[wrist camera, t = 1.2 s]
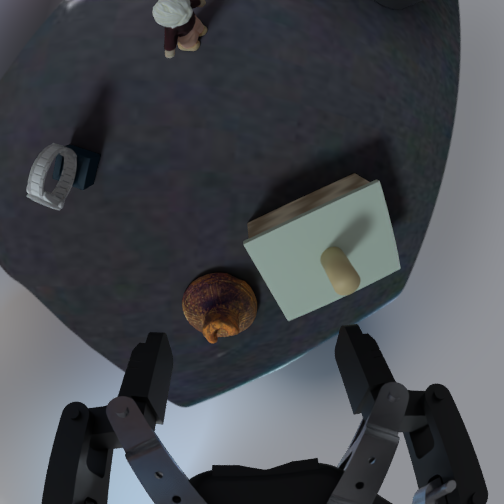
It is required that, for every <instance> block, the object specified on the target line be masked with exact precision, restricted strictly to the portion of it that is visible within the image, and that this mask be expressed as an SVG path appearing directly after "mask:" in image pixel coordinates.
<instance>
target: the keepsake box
mask: <svg viewBox="0 0 504 504" xmlns="http://www.w3.org/2000/svg"><path fill="white" fill-rule="evenodd" d="M367 183H370V182H369V181H367V180H365V179H364V178H362V177H360V176H359V175H357V174H355V173H354V174H352V175H350V176H347V177H345V178H343V179H341V180H338V181H336V182H334V183H332V184H330V185H327V186H325V187H323V188H321V189H319V190H316V191H314V192H312V193H310V194H308V195H306V196H303V197H301V198H299V199H297V200H295V201H293V202H291V203H288V204H286V205H284V206H282V207H280V208H278V209H276V210H274V211H272V212H269V213H267V214H265V215H263V216H261V217H259V218H257V219H255V220H253V221H251V222H249V223H247V224H248V235H249V238H251V237H254V236H256V235H258V234H260V233H262V232H264V231H266V230H268V229H270V228H273V227H275V226H277V225H279V224H281V223H283V222H285V221H287V220H290V219H292V218H294V217H296V216H298V215H300V214H302V213H305V212H307V211H309V210H311V209H313V208H315V207H317V206H320V205H322V204H324V203H326V202H328V201H330V200H333V199H335V198H337V197H339V196H341V195H343V194H346V193H348V192H350V191H352V190H354V189H356V188H359V187H361V186H363V185H365V184H367Z"/></svg>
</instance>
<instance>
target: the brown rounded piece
mask: <svg viewBox="0 0 504 504" xmlns="http://www.w3.org/2000/svg"><path fill="white" fill-rule="evenodd" d="M241 284H242V285H241ZM249 296H250V297H249ZM182 307H183V311H184V314H185V316H186V318H187V320H188V321H189V323H190V324H191V325H192V326H193V327H194V328H195V329H197V330H199V331H200V332H202V333H203V335H204V337H206V339H207V340H208V341H209V342H210V343H216V342H217V337H227V336H231V335H236V334H238V333H239V332H242V331H243V330H245V329H247V328H248V327H249V326H250V325H251V324H252V322H253V321H254V319H255V316H256V313H257V300H256V297H255V294H254V292H253V291H252V289H251V287H250V286H249V285H248V284H247V283H246V282H245V281H243V280H240V279H238V278H236V277H233V276H231V275H229V274H227V273H210V274H206V275H204V276H202V277H199V278H198V279H196V280H195V281H194V282H192V284H190V285H189V287H188V288H187V289H186V291H185V293H184V296H183V299H182ZM207 308H208V309H207ZM194 310H195V311H194ZM234 320H235V321H234Z"/></svg>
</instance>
